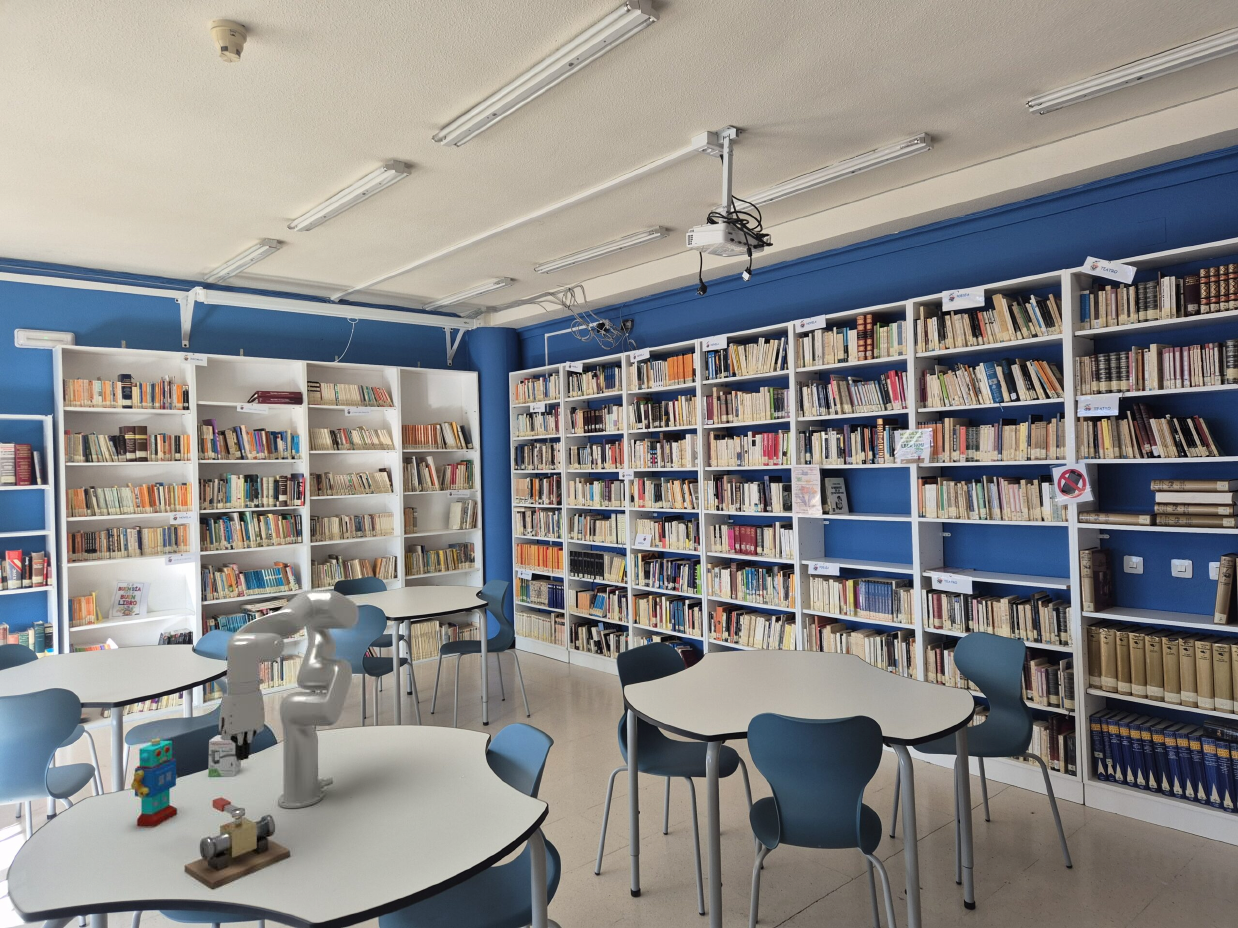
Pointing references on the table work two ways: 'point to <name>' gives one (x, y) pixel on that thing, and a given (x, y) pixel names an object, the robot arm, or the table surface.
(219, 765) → the ink box
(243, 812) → the valve lever
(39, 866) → the table surface
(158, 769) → the toy robot
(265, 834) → the valve pipe
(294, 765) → the robot arm
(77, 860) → the table surface
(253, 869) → the mounting board
